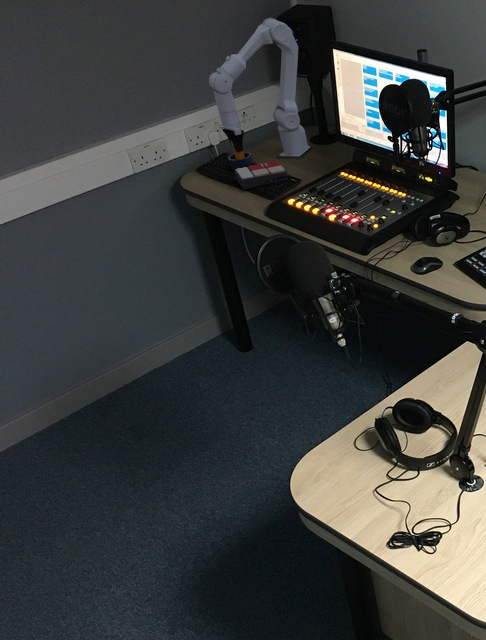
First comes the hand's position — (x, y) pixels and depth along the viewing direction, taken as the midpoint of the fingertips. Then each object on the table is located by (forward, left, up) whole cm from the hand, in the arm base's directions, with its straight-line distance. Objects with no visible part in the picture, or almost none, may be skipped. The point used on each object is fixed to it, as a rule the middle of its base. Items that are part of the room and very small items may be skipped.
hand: (238, 150), depth 287 cm
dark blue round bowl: (0, 0, -6) cm, 6 cm away
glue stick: (0, 0, -5) cm, 5 cm away
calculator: (+11, +13, -6) cm, 18 cm away
